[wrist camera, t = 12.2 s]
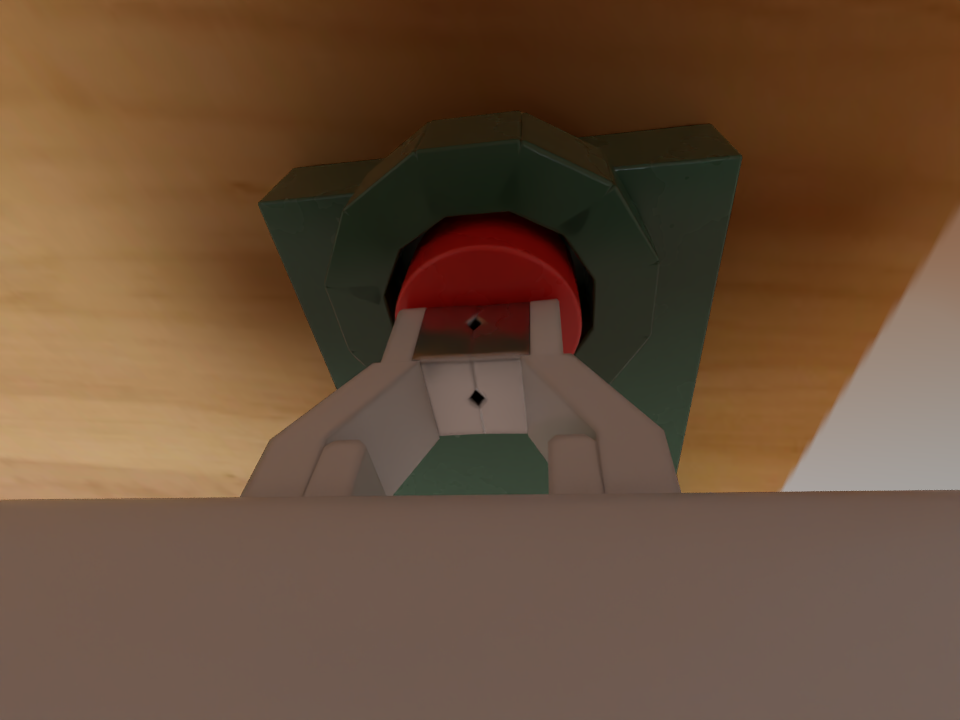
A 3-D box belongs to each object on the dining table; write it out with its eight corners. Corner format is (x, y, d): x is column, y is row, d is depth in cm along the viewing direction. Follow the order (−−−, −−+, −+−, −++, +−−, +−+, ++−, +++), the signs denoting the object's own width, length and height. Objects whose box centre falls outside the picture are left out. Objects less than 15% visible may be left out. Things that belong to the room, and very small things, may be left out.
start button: (393, 212, 10) (372, 255, 9) (576, 195, 9) (583, 237, 8) (427, 351, 12) (415, 401, 11) (575, 343, 12) (581, 395, 10)
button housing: (272, 113, 12) (183, 175, 9) (721, 58, 10) (802, 109, 7) (428, 543, 24) (414, 631, 21) (643, 544, 23) (661, 638, 19)
